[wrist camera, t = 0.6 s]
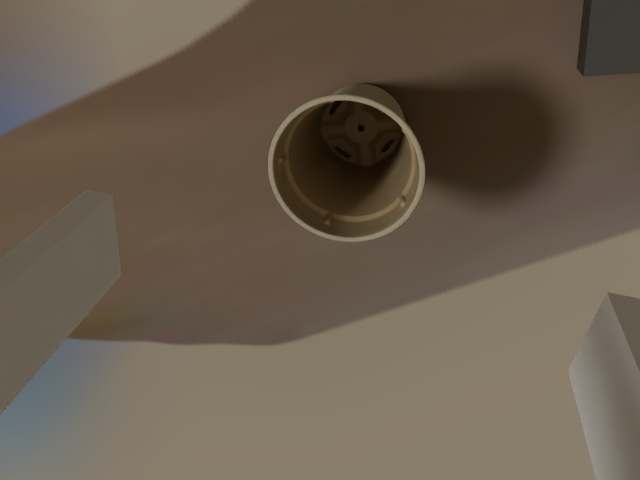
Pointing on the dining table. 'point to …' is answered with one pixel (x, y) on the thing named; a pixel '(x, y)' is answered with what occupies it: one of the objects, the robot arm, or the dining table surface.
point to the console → (609, 37)
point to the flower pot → (347, 165)
